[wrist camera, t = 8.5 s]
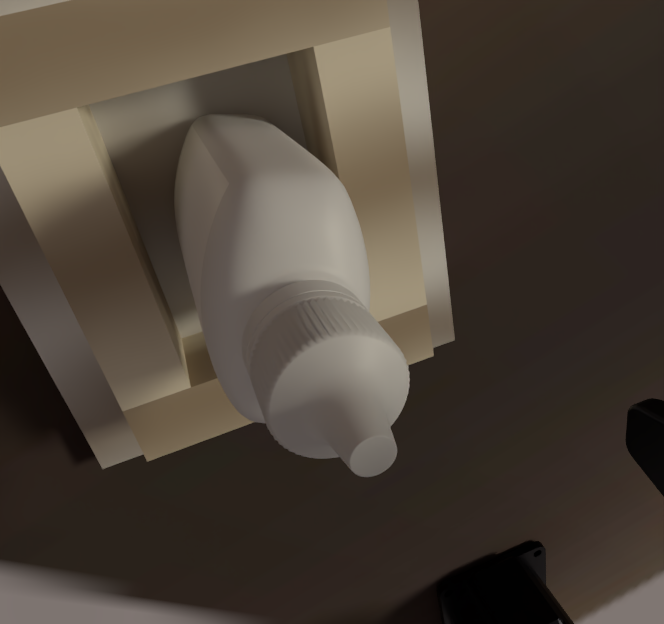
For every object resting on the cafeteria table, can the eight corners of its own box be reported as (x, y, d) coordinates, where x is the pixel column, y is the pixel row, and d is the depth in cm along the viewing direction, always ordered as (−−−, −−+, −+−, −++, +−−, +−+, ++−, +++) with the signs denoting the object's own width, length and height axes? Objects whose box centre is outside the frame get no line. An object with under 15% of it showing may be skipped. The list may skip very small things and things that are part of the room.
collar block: (442, 328, 24) (495, 380, 21) (103, 451, 22) (100, 532, 18) (385, -155, 16) (456, -199, 13) (-167, -45, 14) (-261, -63, 10)
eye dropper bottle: (123, 254, 18) (129, 583, 8) (208, 83, 16) (354, 205, 6) (249, 306, 20) (385, 619, 10) (333, 158, 18) (596, 341, 8)
